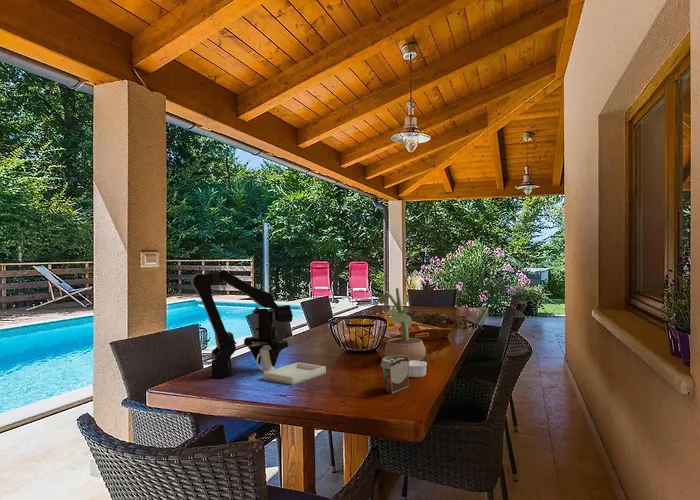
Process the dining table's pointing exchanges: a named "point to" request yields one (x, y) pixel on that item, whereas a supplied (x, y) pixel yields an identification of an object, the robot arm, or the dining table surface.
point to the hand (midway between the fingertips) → (266, 365)
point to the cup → (265, 359)
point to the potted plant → (402, 332)
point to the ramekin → (417, 368)
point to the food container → (395, 372)
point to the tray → (294, 373)
